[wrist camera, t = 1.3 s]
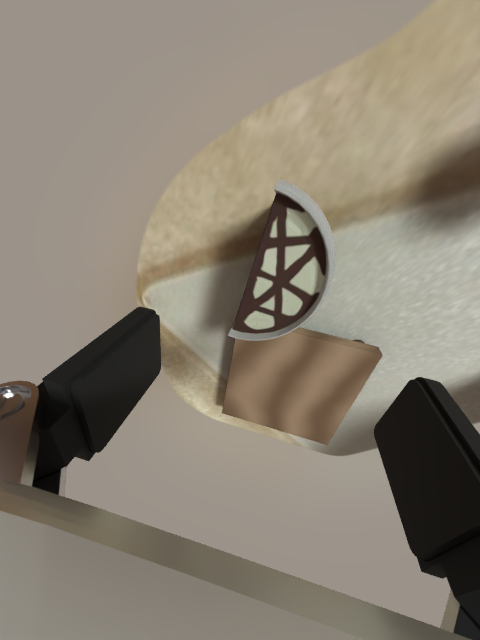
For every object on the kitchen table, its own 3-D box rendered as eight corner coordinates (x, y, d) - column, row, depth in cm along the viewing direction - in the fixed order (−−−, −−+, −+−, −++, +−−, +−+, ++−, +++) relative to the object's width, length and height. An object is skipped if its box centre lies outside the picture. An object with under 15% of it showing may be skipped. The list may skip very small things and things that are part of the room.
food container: (295, 312, 28) (294, 366, 19) (248, 295, 28) (225, 340, 20) (348, 203, 21) (381, 211, 13) (286, 182, 22) (277, 177, 13)
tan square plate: (374, 339, 27) (382, 355, 25) (325, 426, 36) (327, 444, 34) (244, 307, 29) (238, 318, 27) (227, 397, 38) (222, 413, 35)
